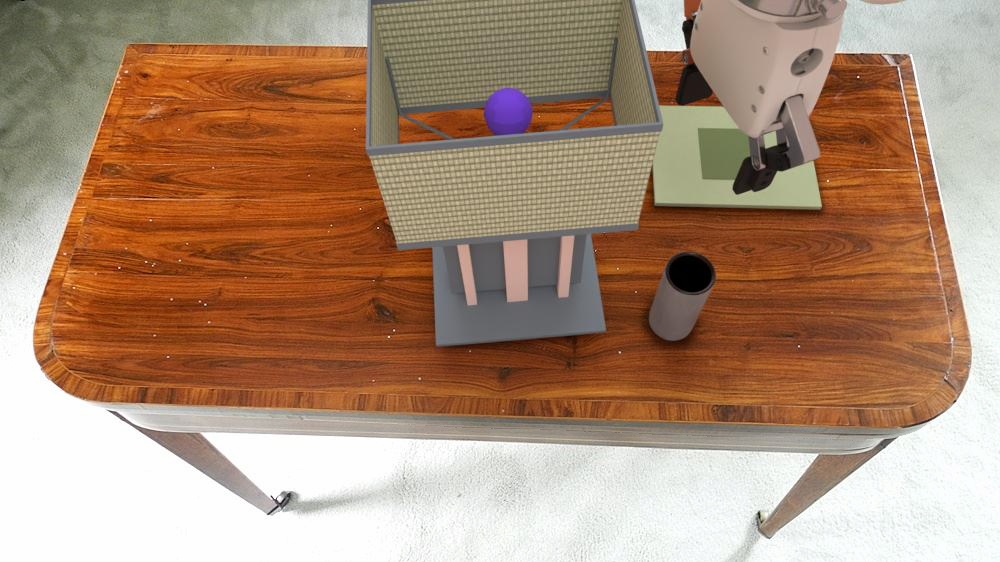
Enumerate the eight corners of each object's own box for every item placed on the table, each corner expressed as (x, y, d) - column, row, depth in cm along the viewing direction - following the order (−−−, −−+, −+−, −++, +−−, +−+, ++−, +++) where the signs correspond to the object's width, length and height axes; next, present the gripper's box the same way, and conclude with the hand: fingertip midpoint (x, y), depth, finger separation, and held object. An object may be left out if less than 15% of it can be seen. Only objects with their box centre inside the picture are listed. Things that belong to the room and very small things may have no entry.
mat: (802, 111, 86) (804, 107, 86) (820, 209, 80) (822, 206, 79) (648, 108, 87) (649, 104, 87) (654, 206, 81) (655, 202, 80)
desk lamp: (430, 355, 73) (365, 153, 44) (426, 236, 80) (367, -8, 51) (611, 339, 73) (664, 128, 44) (592, 222, 80) (627, -29, 51)
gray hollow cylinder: (643, 334, 73) (660, 287, 64) (653, 296, 75) (670, 245, 66) (688, 346, 73) (711, 300, 64) (697, 307, 75) (720, 258, 66)
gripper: (926, 39, 41) (819, 209, 56) (768, -135, 48) (711, 56, 64) (808, 78, 40) (731, 240, 55) (666, -107, 47) (633, 80, 63)
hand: (720, 141), depth 59 cm, fingers open, 9 cm apart
